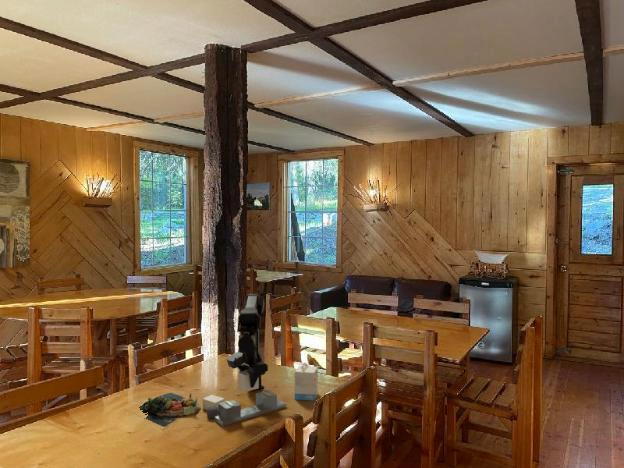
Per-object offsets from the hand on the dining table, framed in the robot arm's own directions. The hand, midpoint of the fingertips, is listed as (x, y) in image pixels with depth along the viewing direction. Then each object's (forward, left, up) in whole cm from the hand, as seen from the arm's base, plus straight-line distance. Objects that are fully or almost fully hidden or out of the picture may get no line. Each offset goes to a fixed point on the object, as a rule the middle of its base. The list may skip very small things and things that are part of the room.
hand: (248, 385), depth 172 cm
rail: (0, +2, -11) cm, 11 cm away
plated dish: (-23, -21, -12) cm, 34 cm away
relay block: (-13, -8, -11) cm, 19 cm away
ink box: (-1, +29, -11) cm, 31 cm away
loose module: (0, 0, -1) cm, 1 cm away
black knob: (-7, -11, -11) cm, 17 cm away
